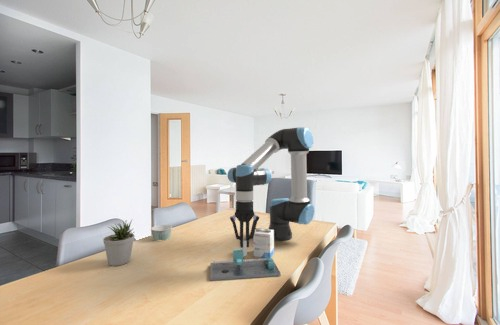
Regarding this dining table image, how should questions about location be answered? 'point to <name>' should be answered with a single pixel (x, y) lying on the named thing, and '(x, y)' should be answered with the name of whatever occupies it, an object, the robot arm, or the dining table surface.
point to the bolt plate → (243, 269)
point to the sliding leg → (238, 257)
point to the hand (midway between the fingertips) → (244, 254)
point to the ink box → (263, 243)
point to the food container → (161, 232)
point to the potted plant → (119, 245)
